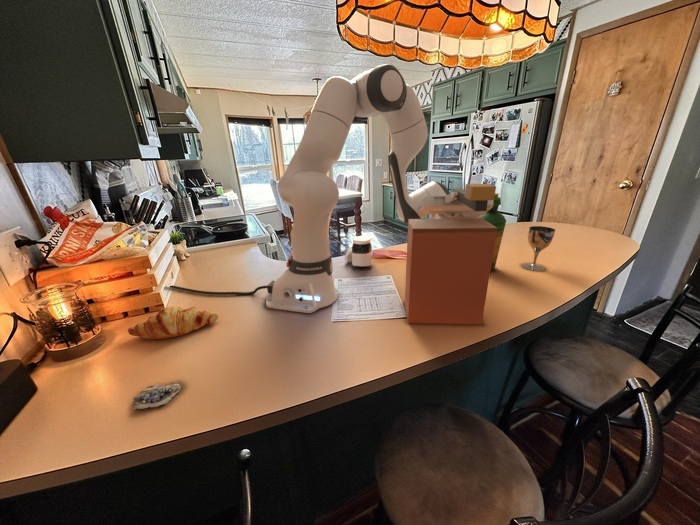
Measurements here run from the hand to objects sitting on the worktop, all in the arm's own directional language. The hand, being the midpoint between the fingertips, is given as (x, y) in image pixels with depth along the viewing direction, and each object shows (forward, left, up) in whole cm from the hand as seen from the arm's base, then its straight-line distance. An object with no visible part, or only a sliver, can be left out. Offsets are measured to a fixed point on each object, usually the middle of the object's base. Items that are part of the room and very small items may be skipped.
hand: (463, 194), depth 75 cm
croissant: (-77, -21, -32) cm, 86 cm away
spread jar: (-31, +26, -32) cm, 51 cm away
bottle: (+17, +23, -32) cm, 42 cm away
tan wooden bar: (0, -4, -2) cm, 5 cm away
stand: (-5, -10, -31) cm, 34 cm away
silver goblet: (+36, +24, -32) cm, 53 cm away
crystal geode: (-66, -42, -32) cm, 85 cm away
